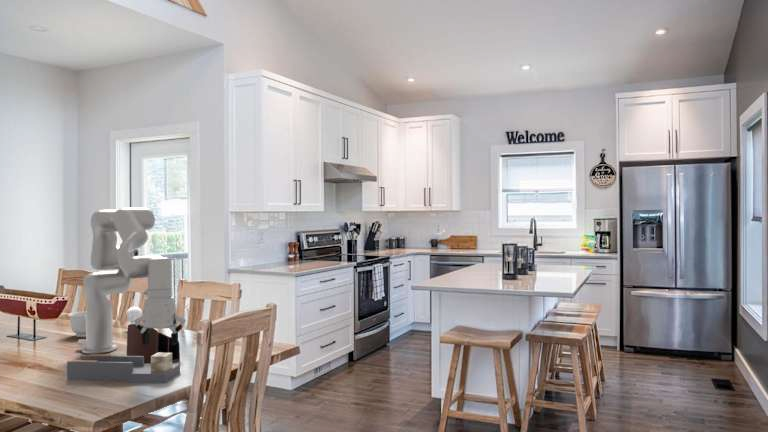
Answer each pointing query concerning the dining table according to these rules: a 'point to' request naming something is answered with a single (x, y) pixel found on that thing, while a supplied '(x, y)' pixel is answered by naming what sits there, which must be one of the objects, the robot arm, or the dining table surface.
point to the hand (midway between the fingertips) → (160, 344)
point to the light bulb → (134, 314)
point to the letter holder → (150, 344)
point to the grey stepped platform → (117, 369)
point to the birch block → (161, 361)
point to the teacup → (78, 323)
